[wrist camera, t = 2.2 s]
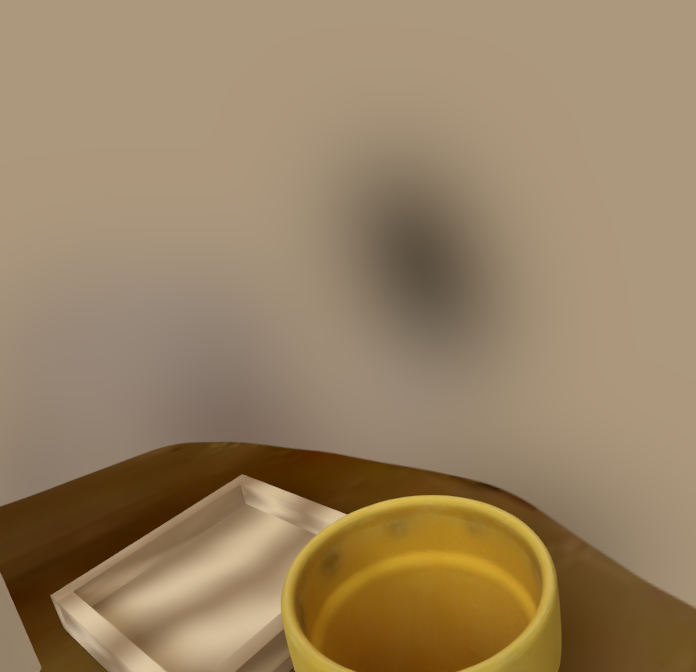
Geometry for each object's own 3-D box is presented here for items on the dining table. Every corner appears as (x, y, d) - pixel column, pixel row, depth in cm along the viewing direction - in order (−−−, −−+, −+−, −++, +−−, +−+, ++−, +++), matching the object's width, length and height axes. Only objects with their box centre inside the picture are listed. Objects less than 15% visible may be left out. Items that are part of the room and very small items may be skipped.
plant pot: (614, 717, 27) (598, 523, 24) (512, 975, 20) (471, 743, 17) (411, 633, 34) (379, 473, 31) (279, 805, 27) (219, 616, 24)
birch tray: (63, 627, 40) (50, 595, 39) (250, 502, 49) (242, 474, 49) (197, 758, 29) (182, 717, 29) (400, 566, 39) (393, 532, 38)
